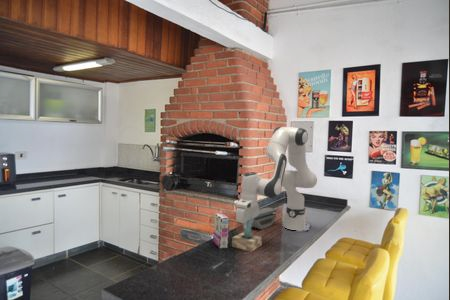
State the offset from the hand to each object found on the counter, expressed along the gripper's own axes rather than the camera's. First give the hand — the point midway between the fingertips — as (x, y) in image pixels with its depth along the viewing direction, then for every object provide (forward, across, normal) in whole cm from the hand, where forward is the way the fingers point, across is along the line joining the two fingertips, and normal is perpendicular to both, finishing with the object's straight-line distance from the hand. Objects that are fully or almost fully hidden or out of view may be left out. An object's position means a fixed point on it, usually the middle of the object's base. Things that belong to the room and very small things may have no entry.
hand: (247, 227), depth 163 cm
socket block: (+10, 0, 0) cm, 11 cm away
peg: (+6, 0, 0) cm, 6 cm away
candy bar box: (+11, +8, -12) cm, 18 cm away
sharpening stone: (+11, -39, -10) cm, 41 cm away
